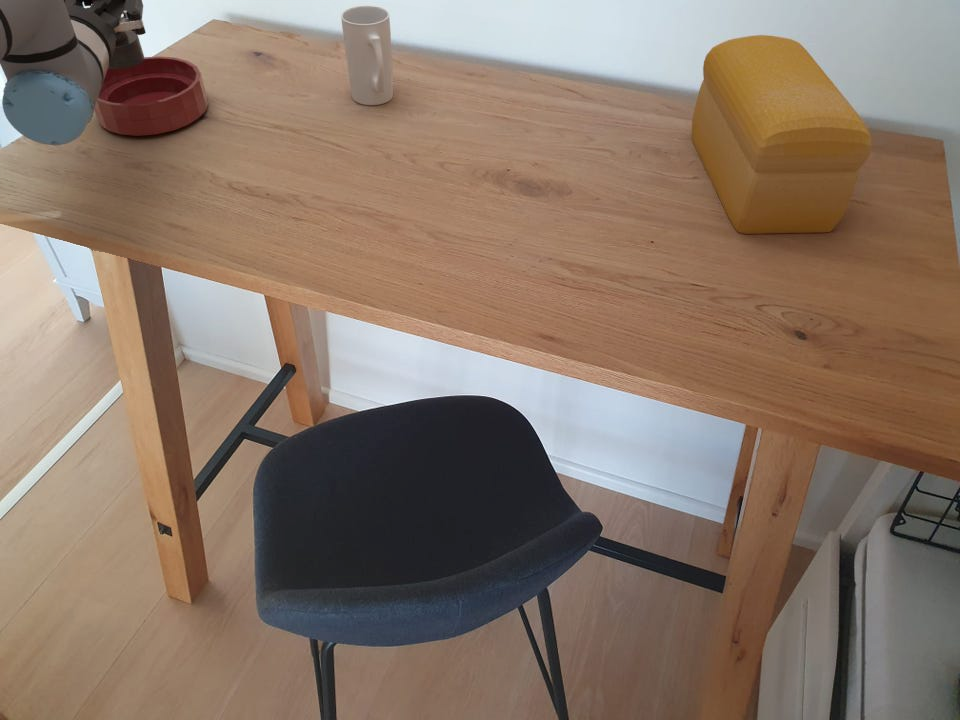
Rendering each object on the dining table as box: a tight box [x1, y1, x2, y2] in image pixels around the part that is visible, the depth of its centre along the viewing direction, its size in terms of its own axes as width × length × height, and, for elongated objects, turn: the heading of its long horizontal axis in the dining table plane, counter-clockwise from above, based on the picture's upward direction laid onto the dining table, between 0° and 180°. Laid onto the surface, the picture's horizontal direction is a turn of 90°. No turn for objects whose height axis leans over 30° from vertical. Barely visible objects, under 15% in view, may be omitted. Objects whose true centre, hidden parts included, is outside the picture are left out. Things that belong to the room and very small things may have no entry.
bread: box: [691, 34, 873, 235], centre depth 95 cm, size 24×13×15 cm, turn 3°
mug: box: [340, 5, 394, 106], centre depth 110 cm, size 10×7×12 cm, turn 21°
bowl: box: [94, 55, 209, 137], centre depth 109 cm, size 15×15×5 cm
